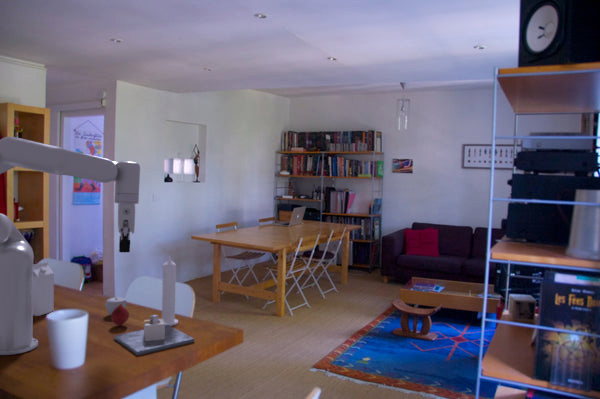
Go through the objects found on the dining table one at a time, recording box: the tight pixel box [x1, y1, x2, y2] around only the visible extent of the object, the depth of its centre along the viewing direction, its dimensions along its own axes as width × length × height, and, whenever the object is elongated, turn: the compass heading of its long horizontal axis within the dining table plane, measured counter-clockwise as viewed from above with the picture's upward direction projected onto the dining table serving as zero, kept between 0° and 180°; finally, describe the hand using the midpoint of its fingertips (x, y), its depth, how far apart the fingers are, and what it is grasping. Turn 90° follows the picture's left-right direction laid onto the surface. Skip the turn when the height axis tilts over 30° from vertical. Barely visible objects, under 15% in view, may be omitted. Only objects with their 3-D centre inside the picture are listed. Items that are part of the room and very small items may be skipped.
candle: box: [161, 255, 179, 327], centre depth 171 cm, size 7×7×25 cm
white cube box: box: [143, 318, 165, 341], centre depth 153 cm, size 6×6×6 cm
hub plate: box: [113, 314, 195, 356], centre depth 153 cm, size 19×18×8 cm
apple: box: [104, 296, 128, 316], centre depth 180 cm, size 8×8×7 cm
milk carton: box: [33, 261, 55, 317], centre depth 179 cm, size 7×7×19 cm
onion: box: [110, 304, 130, 327], centre depth 167 cm, size 6×6×8 cm
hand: (124, 249), depth 157 cm, fingers open, 9 cm apart
